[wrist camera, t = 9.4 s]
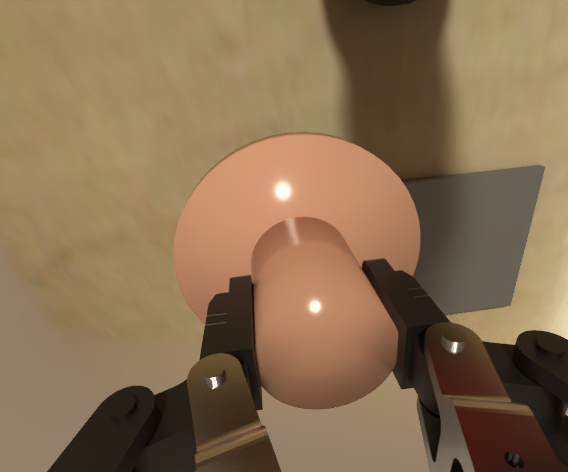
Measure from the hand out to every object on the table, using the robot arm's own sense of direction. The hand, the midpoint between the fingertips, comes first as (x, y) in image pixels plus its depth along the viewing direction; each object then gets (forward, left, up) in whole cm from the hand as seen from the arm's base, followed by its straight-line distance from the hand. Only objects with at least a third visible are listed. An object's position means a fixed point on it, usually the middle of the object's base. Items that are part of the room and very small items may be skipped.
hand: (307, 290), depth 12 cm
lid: (0, 0, -3) cm, 3 cm away
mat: (-14, +9, -16) cm, 23 cm away
